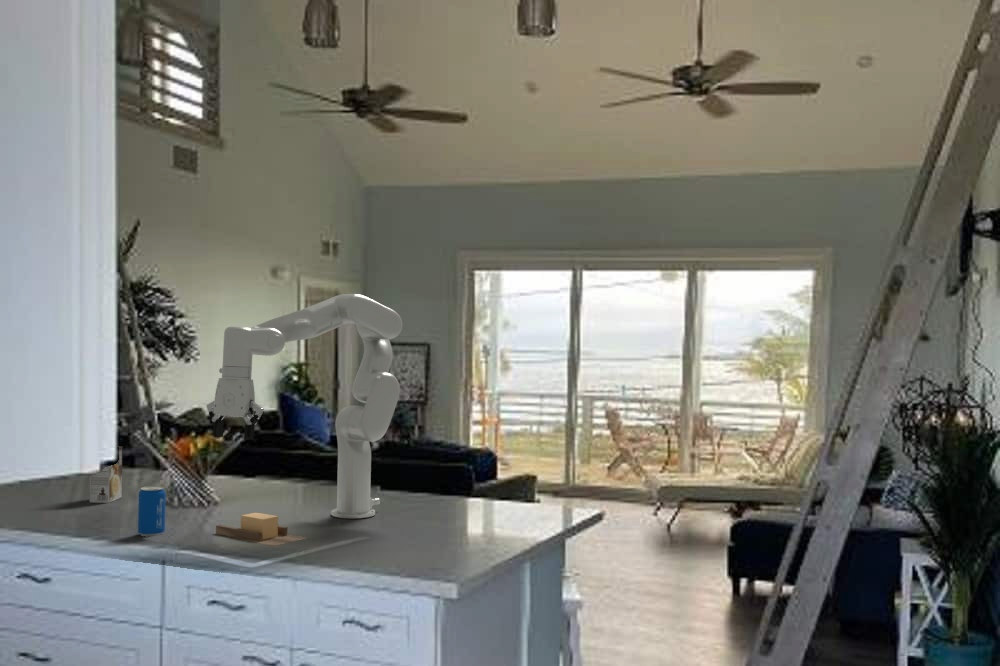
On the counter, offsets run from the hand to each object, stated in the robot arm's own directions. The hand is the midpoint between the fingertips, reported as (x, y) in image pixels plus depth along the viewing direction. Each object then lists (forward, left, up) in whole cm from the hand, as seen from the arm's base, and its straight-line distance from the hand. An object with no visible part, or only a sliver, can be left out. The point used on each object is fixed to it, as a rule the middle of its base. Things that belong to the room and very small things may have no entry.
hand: (233, 438), depth 250 cm
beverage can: (+16, -12, -25) cm, 32 cm away
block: (+3, +14, -23) cm, 27 cm away
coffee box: (-6, -64, -25) cm, 69 cm away
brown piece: (+3, +14, -24) cm, 28 cm away
